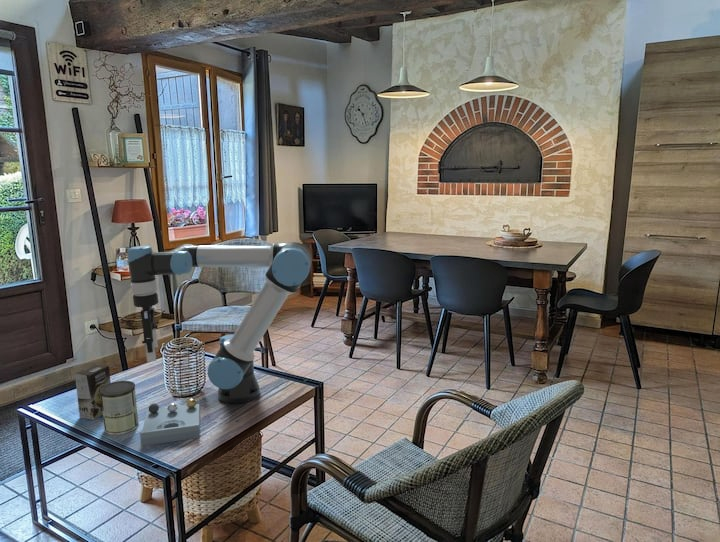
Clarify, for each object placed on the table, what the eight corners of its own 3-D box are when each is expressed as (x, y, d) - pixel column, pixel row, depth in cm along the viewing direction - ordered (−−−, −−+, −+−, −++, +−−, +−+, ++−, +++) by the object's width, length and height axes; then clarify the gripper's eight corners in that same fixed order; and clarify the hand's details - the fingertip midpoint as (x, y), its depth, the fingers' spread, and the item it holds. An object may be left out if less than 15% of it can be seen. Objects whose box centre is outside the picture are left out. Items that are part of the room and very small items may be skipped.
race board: (199, 410, 178) (198, 398, 177) (199, 437, 160) (198, 424, 159) (147, 417, 173) (146, 405, 172) (141, 446, 155) (140, 433, 154)
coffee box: (94, 420, 171) (89, 375, 167) (79, 418, 172) (73, 373, 169) (114, 408, 179) (109, 365, 176) (99, 406, 181) (94, 363, 178)
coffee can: (98, 428, 165) (93, 388, 163) (129, 416, 173) (125, 377, 170) (113, 439, 159) (108, 397, 156) (144, 426, 167) (141, 386, 164)
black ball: (159, 409, 172) (158, 401, 172) (158, 414, 169) (158, 405, 169) (149, 411, 172) (148, 402, 171) (148, 415, 169) (147, 406, 168)
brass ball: (196, 405, 176) (195, 396, 175) (196, 409, 173) (195, 400, 172) (186, 406, 175) (186, 397, 174) (186, 410, 172) (185, 401, 171)
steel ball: (178, 409, 173) (177, 400, 172) (177, 413, 170) (176, 404, 169) (168, 410, 172) (167, 402, 171) (167, 415, 169) (166, 406, 168)
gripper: (135, 286, 177) (143, 344, 182) (129, 303, 154) (137, 369, 159) (158, 284, 180) (165, 341, 184) (155, 300, 157) (163, 365, 161)
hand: (152, 354), depth 171 cm, fingers open, 13 cm apart
